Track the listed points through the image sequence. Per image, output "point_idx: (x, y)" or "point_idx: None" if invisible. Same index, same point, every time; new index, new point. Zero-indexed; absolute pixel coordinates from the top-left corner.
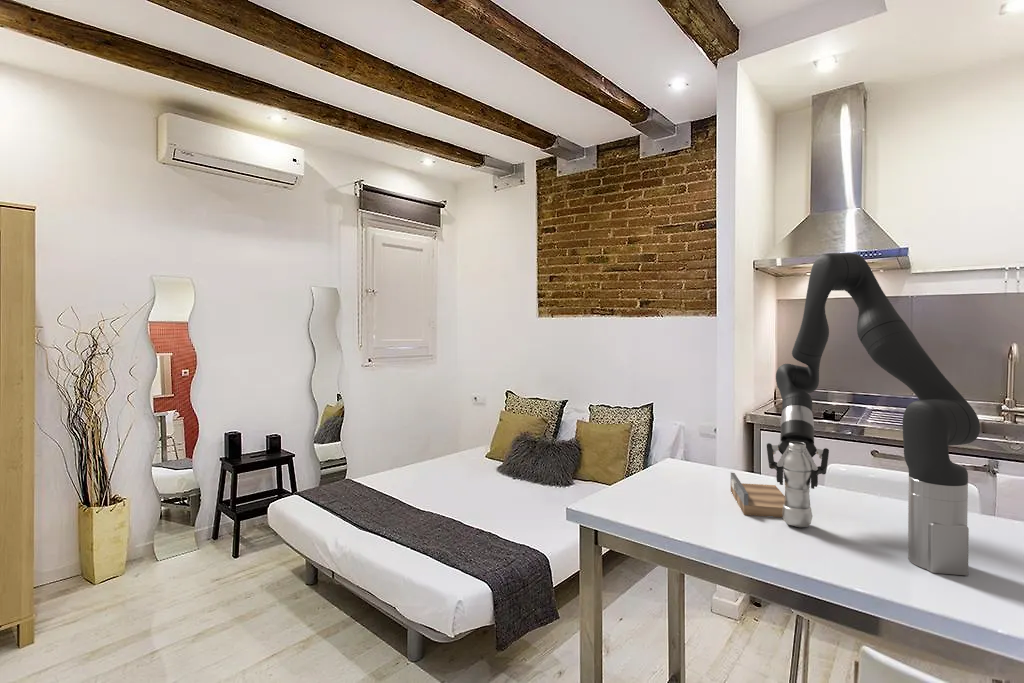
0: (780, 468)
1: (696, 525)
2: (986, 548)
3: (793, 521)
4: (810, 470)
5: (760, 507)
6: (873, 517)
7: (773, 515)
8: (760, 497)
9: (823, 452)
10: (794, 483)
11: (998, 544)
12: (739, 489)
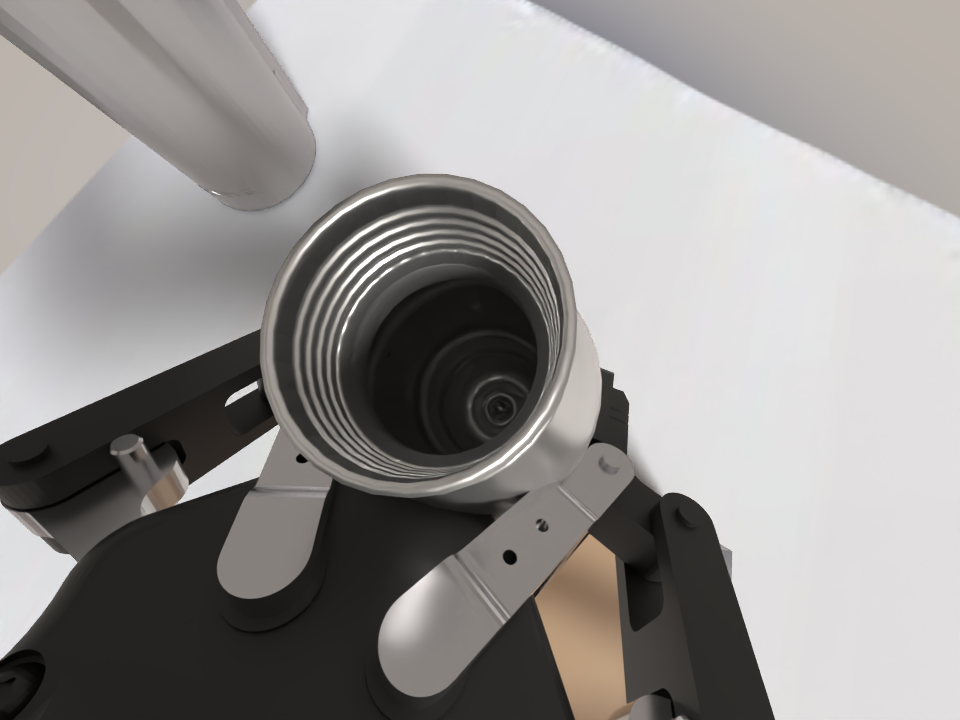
0: (602, 432)
1: (910, 377)
2: (59, 276)
3: (529, 364)
4: (405, 301)
5: None
6: None
7: None
8: (578, 669)
9: (99, 442)
10: (528, 332)
11: (6, 307)
12: None
